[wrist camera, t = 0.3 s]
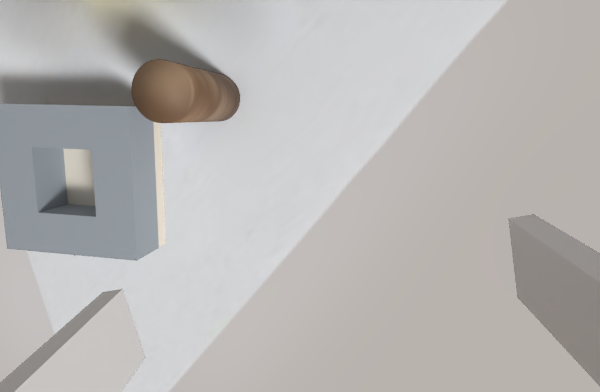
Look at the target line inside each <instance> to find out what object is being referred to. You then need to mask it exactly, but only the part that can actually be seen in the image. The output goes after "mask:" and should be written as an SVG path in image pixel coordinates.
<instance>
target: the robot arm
mask: <svg viewBox="0 0 600 392" xmlns="http://www.w3.org/2000/svg"><path fill="white" fill-rule="evenodd" d="M509 228H510V237H511V245H512V254H513V263H514V271H515V281H516V289H517V297H518V299H519V300H520V301H521V302H522V303H523V304H524V305H525V306H526V307H527V308H528V309H529V310H530V311H531V313H532V314H533V315H534V316H535V317H536V318H537V319H538V320H539V321H540V322H541V323H542V324H543V325H544V327H545V328H546V329H547V330H548V331H549V332H550V333H551V334H552V335H553V336H554V337H555V338H556V340H557V341H558V342H559V343H560V344H561V345H562V346H563V347H564V348H565V349H566V350H567V351H568V352H569V353H570V355H571V356H572V357H573V358H574V359H575V360H576V361H577V362H578V363H579V364H580V365H581V367H583V369H584V370H585V371H586V372H587V373H588V374H589V375H590V376H591V377H592V378H593V379H594V381H595V382H596V383H597V384H598V385H599V386H600V253H599V252H597V251H595V250H594V249H592V248H590V247H589V246H587V245H585V244H583V243H582V242H580V241H578V240H577V239H575V238H573V237H572V236H570V235H568V234H567V233H565V232H563V231H561V230H560V229H558V228H556V227H555V226H553V225H551V224H550V223H548V222H546V221H544V220H543V219H541V218H539V217H538V216H536V215H534V214H531V215H526V216H520V217H515V218H509ZM145 358H146V357H145V354H144V351H143V348H142V345H141V342H140V339H139V336H138V333H137V330H136V327H135V324H134V321H133V318H132V315H131V312H130V309H129V306H128V303H127V300H126V297H125V294H124V291H123V289H119V290H113V291H108V292H102V293H101V294H100V295H99V296H98V297H97V298H96V299H95V300H93V301H92V302H91V303H90V304H89V305H88V306H87V307H85V308H84V309H83V310H82V311H81V312H80V313H79V314H78V315H76V316H75V317H74V318H73V319H72V320H71V321H70V322H68V323H67V324H66V325H65V326H64V327H63V328H62V329H61V330H59V331H58V332H57V333H56V334H55V335H54V336H53V337H51V338H50V339H49V340H48V341H47V342H46V343H45V344H43V345H42V347H40V348H39V349H38V350H37V351H36V352H34V353H33V354H32V355H31V356H30V357H29V358H28V359H27V360H25V361H24V362H23V363H22V364H21V365H20V366H19V367H17V368H16V369H15V370H14V371H13V372H12V373H11V374H9V375H8V376H7V377H6V378H5V379H4V380H3V381H2V382H0V392H122V391H123V389H124V388H125V386H126V385H127V384H128V382H129V381H130V379H131V378H132V376H133V375H134V373H135V372H136V371H137V369H138V368H139V366H140V365H141V363H142V362H143V360H144V359H145Z"/></svg>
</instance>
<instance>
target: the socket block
mask: <svg viewBox="0 0 600 392" xmlns="http://www.w3.org/2000/svg"><path fill="white" fill-rule="evenodd" d="M0 189H1V197H2V206H3V215H4V223H5V233H6V242H7V248H8V249H18V250H28V251H39V252H50V253H60V254H71V255H82V256H93V257H104V258H114V259H125V260H136V261H137V260H139V259H140V258H142V257H144V256H145V255H147V254H149V253H150V252H152V251H154V250H156V249H157V248H159V247H161V246H162V245H164V244H166V230H165V205H164V180H163V154H162V129H161V123H156V122H153V121H150V120H148V119H147V118H145V117H144V116H143V115H142V114H141V113H140V112H139V111H138V109H137V108H136V106H95V105H46V104H0Z"/></svg>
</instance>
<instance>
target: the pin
mask: <svg viewBox="0 0 600 392" xmlns="http://www.w3.org/2000/svg"><path fill="white" fill-rule="evenodd" d="M132 97H133V101H134V104H135V106H136V108H137V109H138V111H139V112H140V113H141V114H142V115H143V116H144V117H145V118H147V119H148V120H150V121H153V122H156V123H181V122H211V121H224V120H227V119H229V118H230V117H232V116H233V115H234V114H235V113H236V111H237V109H238V107H239V103H240V94H239V90H238V88H237V86H236V84H235V83H234V82H233V81H232V80H231V79H230V78H229V77H227V76H225V75H221V74H217V73H213V72H209V71H205V70H202V69H198V68H194V67H190V66H186V65H182V64H178V63H174V62H170V61H166V60H161V59H157V60H151V61H149V62H147V63H145V64H143V65H142V66H141V67H140V68H139V69H138V71H137V72H136V74H135V76H134V78H133V82H132Z"/></svg>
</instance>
